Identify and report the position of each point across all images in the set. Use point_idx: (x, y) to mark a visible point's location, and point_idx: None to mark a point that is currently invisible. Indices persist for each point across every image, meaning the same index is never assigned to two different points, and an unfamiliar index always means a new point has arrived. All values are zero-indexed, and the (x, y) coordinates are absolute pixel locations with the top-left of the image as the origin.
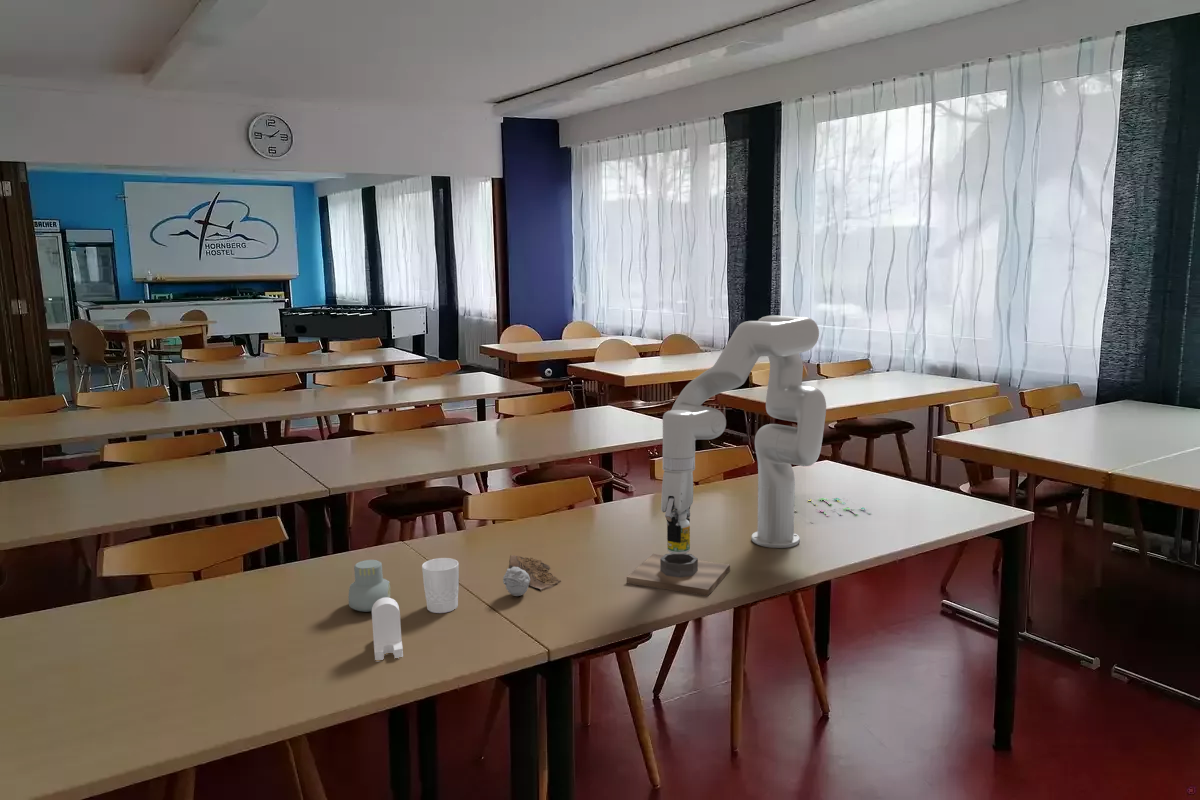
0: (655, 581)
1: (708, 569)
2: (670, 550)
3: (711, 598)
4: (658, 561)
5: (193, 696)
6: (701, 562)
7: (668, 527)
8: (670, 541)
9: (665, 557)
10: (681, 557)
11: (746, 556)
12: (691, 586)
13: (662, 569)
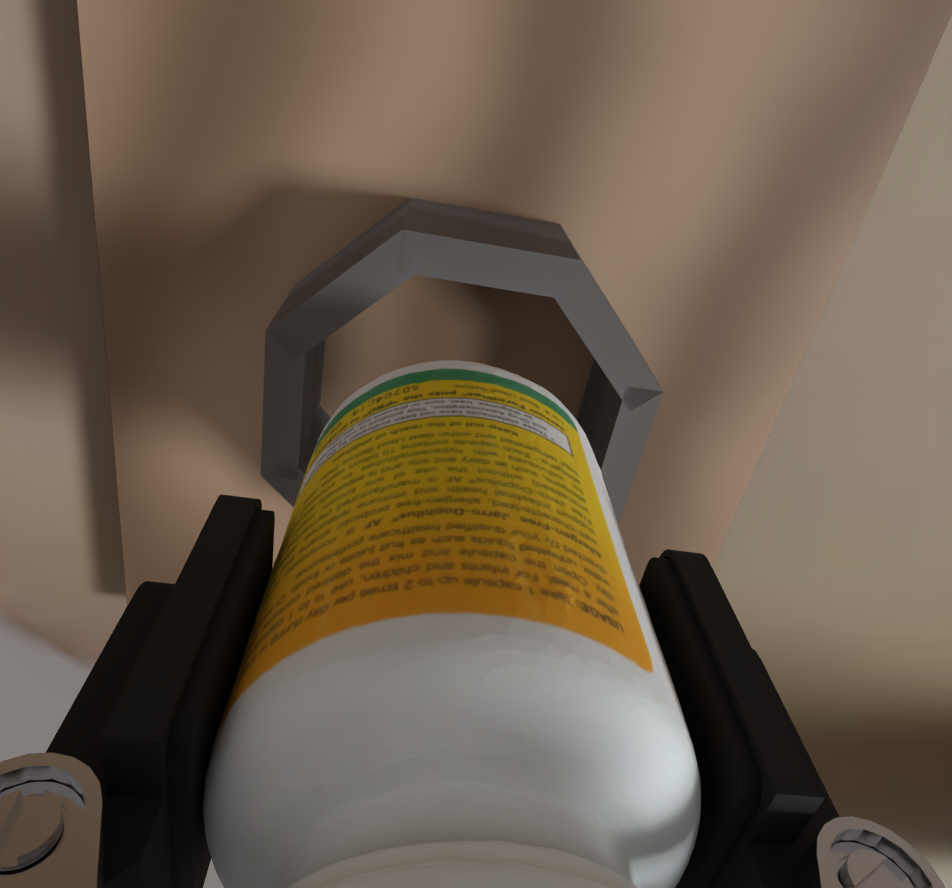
0: (95, 207)
1: None
2: (326, 428)
3: (117, 618)
4: (688, 114)
5: None
6: (689, 515)
7: (130, 699)
8: (300, 503)
9: (466, 282)
10: (606, 412)
11: (924, 702)
12: (132, 525)
13: (364, 237)
